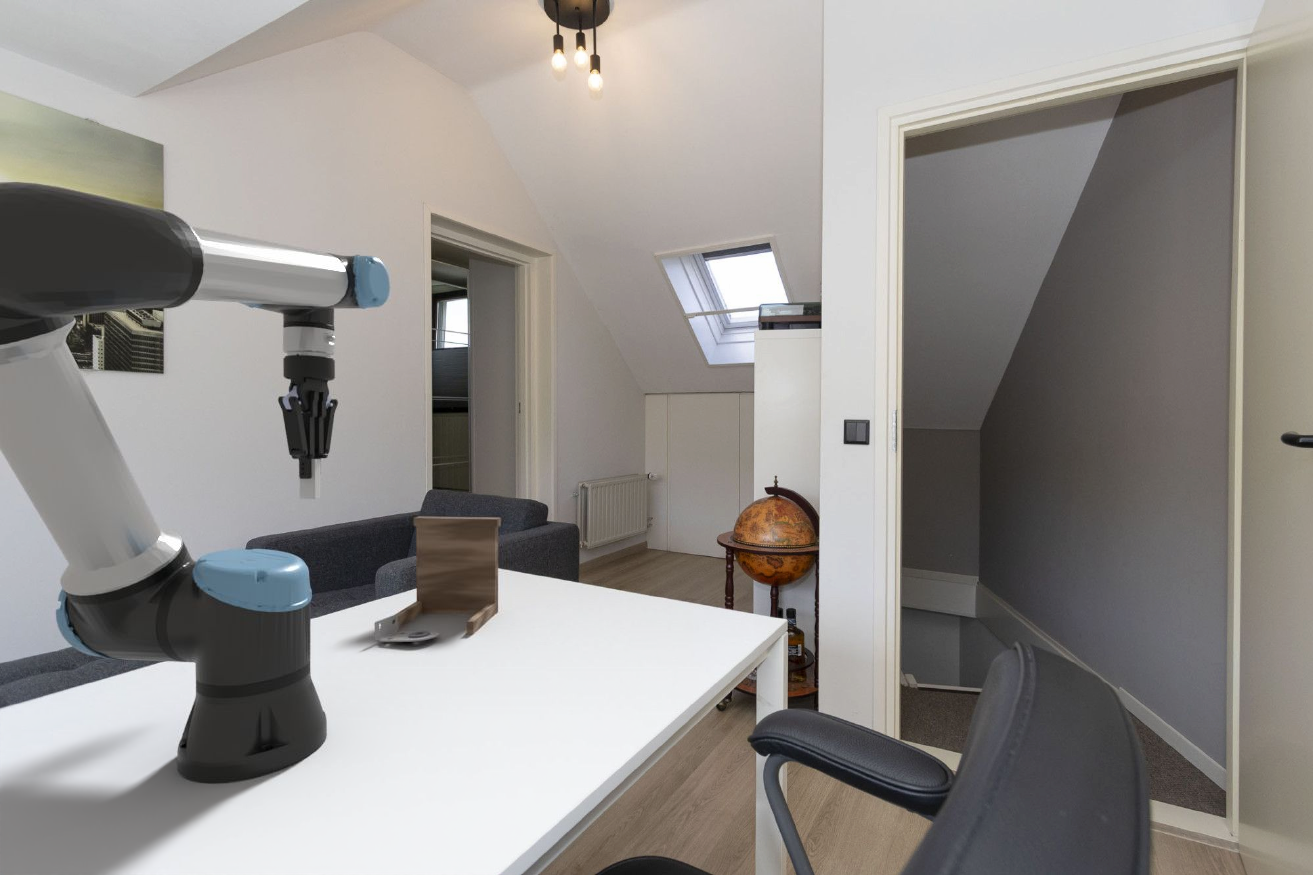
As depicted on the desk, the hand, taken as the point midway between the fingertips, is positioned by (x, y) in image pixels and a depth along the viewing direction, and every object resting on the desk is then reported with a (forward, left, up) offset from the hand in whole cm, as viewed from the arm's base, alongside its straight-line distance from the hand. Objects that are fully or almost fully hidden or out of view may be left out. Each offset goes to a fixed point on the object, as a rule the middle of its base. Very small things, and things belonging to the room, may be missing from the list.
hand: (310, 497), depth 108 cm
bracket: (+6, -15, -28) cm, 32 cm away
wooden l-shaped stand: (+18, -15, -26) cm, 35 cm away
